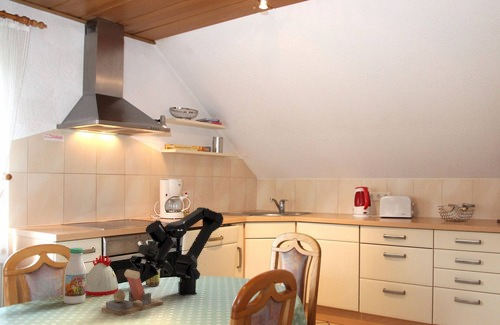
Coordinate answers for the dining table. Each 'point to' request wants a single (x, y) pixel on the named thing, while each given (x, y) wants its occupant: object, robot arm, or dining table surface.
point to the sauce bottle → (154, 280)
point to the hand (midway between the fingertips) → (138, 283)
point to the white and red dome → (101, 278)
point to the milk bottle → (75, 278)
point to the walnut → (119, 296)
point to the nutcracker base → (134, 307)
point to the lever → (135, 284)
